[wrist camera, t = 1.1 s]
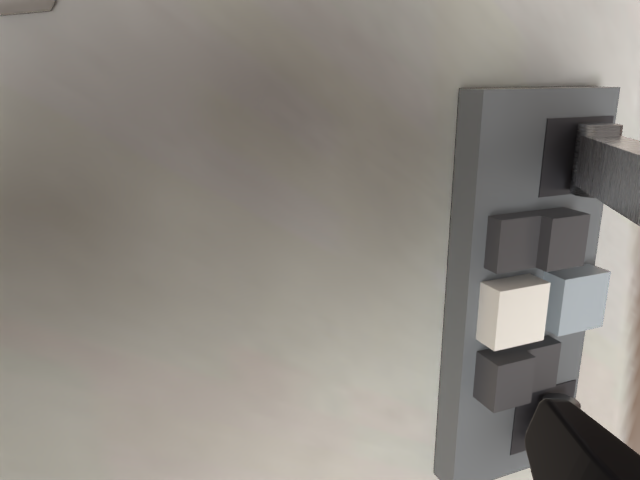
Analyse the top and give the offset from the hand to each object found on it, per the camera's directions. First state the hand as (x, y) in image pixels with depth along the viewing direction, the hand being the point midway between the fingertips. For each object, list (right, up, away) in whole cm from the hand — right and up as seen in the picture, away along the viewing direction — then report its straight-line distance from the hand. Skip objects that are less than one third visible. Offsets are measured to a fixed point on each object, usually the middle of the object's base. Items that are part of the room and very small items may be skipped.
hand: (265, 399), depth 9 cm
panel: (+10, 0, +17) cm, 20 cm away
